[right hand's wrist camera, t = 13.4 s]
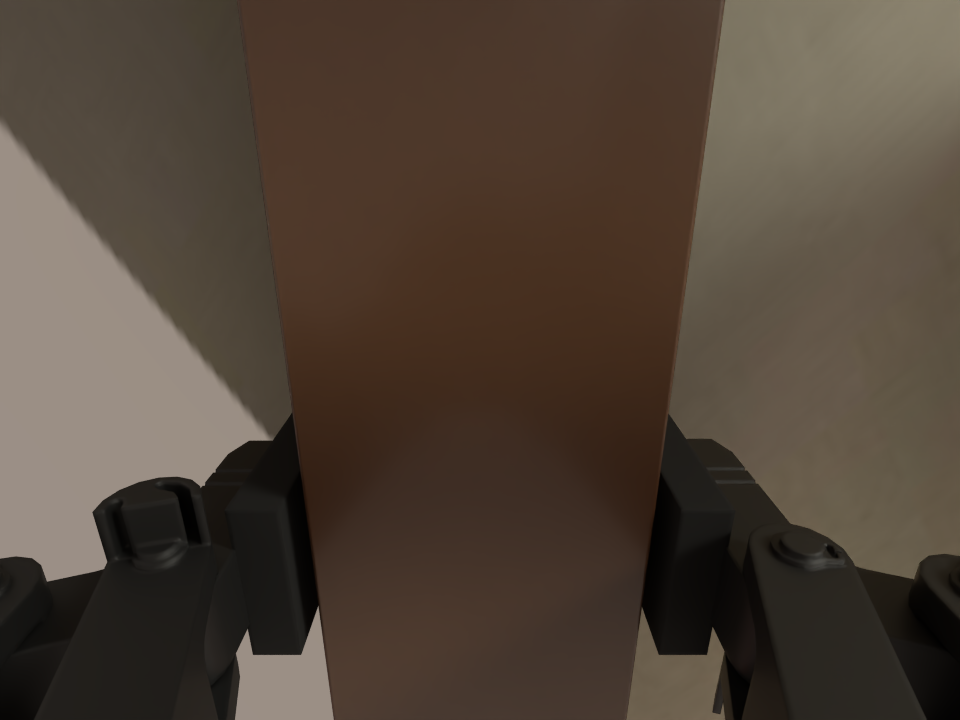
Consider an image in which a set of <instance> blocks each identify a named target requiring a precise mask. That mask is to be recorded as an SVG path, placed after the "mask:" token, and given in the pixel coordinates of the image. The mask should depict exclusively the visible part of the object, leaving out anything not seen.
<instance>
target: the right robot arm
mask: <svg viewBox="0 0 960 720" xmlns="http://www.w3.org/2000/svg"><path fill="white" fill-rule="evenodd" d="M93 516H94V519H95V522H96V526H97V529H98V532H99V536H100V539H101V542H102V546H103V549H104V552H105V555H106V559H107V564H106V566H105V569H103V570H99V571H96V572H91V573H87V574H82V575H77V576H72V577H68V578H63V579H58V580H54V581H49V582H47V581H46V578H45V575H44V572H43V569H42V567H41V565H40V564H39V563H37V562H36V561H35V560H34V559H32V558H24V557H9V558H2V559H0V720H235V714H236V705H237V697H238V688H239V680H240V674H239V667H238V661H237V657H236V652H237V650H238V648H239V646H240V643H241V641H242V639H243V637H244V635H245V633H246V631H247V629H248V632H249V637H250V642H251V647H252V652H253V655H301V654H302V651H303V648H304V645H305V642H306V639H307V636H308V633H309V631H310V628H311V625H312V622H313V619H314V616H315V614H316V611H317V608H318V598H317V590H316V583H315V576H314V568H313V561H312V553H311V546H310V538H309V531H308V524H307V516H306V509H305V501H304V494H303V487H302V479H301V472H300V464H299V457H298V450H297V442H296V435H295V427H294V420H293V412H292V414H291V415H290V417H289V418H288V420H287V421H286V422H285V424H284V425H283V427H282V428H281V430H280V431H279V432H278V434H277V435H276V437H275V438H274V440H273V441H248V442H247V443H245V444H243V445H242V446H240V447H239V448H237V449H235V450H234V451H232V452H231V453H229V454H228V455H227V456H226V458H225V459H224V460H223V461H222V462H221V464H220V465H219V466H218V467H217V469H216V473H213V474H212V475H211V476H210V477H209V479H208V480H207V481H206V482H205V486H202V487H201V488H200V486H199V485H198V484H197V483H195V482H194V481H193V480H191V479H186V478H181V477H163V478H155V479H151V480H147V481H143V482H138V483H136V484H134V485H131V486H129V487H126V488H124V489H121V490H119V491H117V492H116V493H114V494H113V495H111V496H109V497H108V498H106V499H105V500H103V501H102V502H101V503H100V504H99V505H98V507H97V508H96V509H95V510H94V511H93ZM642 608H643V611H644V614H645V617H646V619H647V622H648V625H649V628H650V631H651V634H652V637H653V639H654V642H655V645H656V648H657V651H658V654H659V655H707V652H708V647H709V642H710V637H711V632H712V627H713V628H714V630H715V632H716V634H717V636H718V639H719V641H720V643H721V645H722V647H723V649H724V651H725V652H724V657H723V661H722V666H721V671H720V675H719V680H718V685H717V689H716V694H715V699H714V705H713V713H717V714H720V713H721V709H722V704H724V712H725V720H960V556H956V555H949V554H940V555H932V556H928V557H927V558H925V559H924V560H923V561H921V562H920V564H919V567H918V569H917V572H916V575H915V578H914V579H909V578H904V577H900V576H895V575H890V574H885V573H881V572H876V571H871V570H866V569H863V568H859V567H855V565H854V563H853V561H852V560H851V558H850V557H849V556H848V555H847V553H846V552H845V551H844V549H843V548H841V547H840V546H839V545H837V544H836V543H835V542H833V541H832V540H831V539H829V538H828V537H826V536H824V535H822V534H819V533H817V532H815V531H813V530H811V529H808V528H805V527H801V526H797V525H793V524H790V523H789V522H788V520H787V519H786V518H785V517H784V515H783V514H782V513H781V512H780V511H779V509H778V508H777V507H776V506H775V504H774V503H773V502H772V501H771V499H770V498H769V497H768V496H767V495H766V493H765V492H764V491H763V490H762V488H761V487H760V486H759V485H758V484H755V480H754V479H753V477H752V476H751V475H750V474H749V472H748V471H745V467H744V466H743V465H742V464H741V463H740V461H739V460H738V459H737V458H736V456H735V455H734V454H733V453H732V452H731V451H729V450H728V449H726V448H725V447H723V446H721V445H720V444H718V443H717V442H715V441H713V440H712V439H686V438H685V437H684V435H683V434H682V433H681V431H680V430H679V428H678V427H677V425H676V424H675V422H674V421H673V420H672V418H671V417H670V415H669V414H668V420H667V427H666V434H665V441H664V449H663V456H662V463H661V471H660V478H659V485H658V492H657V500H656V507H655V514H654V522H653V529H652V536H651V543H650V551H649V558H648V565H647V572H646V580H645V587H644V594H643V602H642Z"/></svg>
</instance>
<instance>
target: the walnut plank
mask: <svg viewBox="0 0 960 720" xmlns="http://www.w3.org/2000/svg"><path fill="white" fill-rule="evenodd" d="M237 5H238V12H239V19H240V27H241V34H242V42H243V49H244V56H245V64H246V71H247V79H248V86H249V94H250V101H251V108H252V116H253V123H254V131H255V138H256V145H257V153H258V160H259V168H260V175H261V183H262V190H263V197H264V205H265V212H266V220H267V227H268V234H269V242H270V249H271V257H272V264H273V272H274V279H275V286H276V294H277V301H278V309H279V316H280V323H281V331H282V338H283V346H284V353H285V361H286V368H287V375H288V383H289V390H290V398H291V405H292V412H293V420H294V427H295V435H296V442H297V450H298V457H299V464H300V472H301V479H302V487H303V494H304V501H305V509H306V516H307V524H308V531H309V538H310V546H311V553H312V561H313V568H314V576H315V583H316V590H317V598H318V605H319V613H320V620H321V627H322V635H323V642H324V650H325V657H326V664H327V672H328V679H329V687H330V694H331V702H332V709H333V716H334V720H626V718H627V711H628V703H629V696H630V689H631V682H632V674H633V667H634V660H635V653H636V645H637V638H638V631H639V623H640V616H641V609H642V602H643V594H644V587H645V580H646V572H647V565H648V558H649V551H650V543H651V536H652V529H653V522H654V514H655V507H656V500H657V492H658V485H659V478H660V471H661V463H662V456H663V449H664V441H665V434H666V427H667V420H668V412H669V405H670V398H671V390H672V383H673V376H674V369H675V361H676V354H677V347H678V340H679V332H680V325H681V318H682V310H683V303H684V296H685V289H686V281H687V274H688V267H689V259H690V252H691V245H692V238H693V230H694V223H695V216H696V209H697V201H698V194H699V187H700V179H701V172H702V165H703V158H704V150H705V143H706V136H707V128H708V121H709V114H710V107H711V99H712V92H713V85H714V77H715V70H716V63H717V56H718V48H719V41H720V34H721V27H722V19H723V12H724V5H725V0H237Z"/></svg>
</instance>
